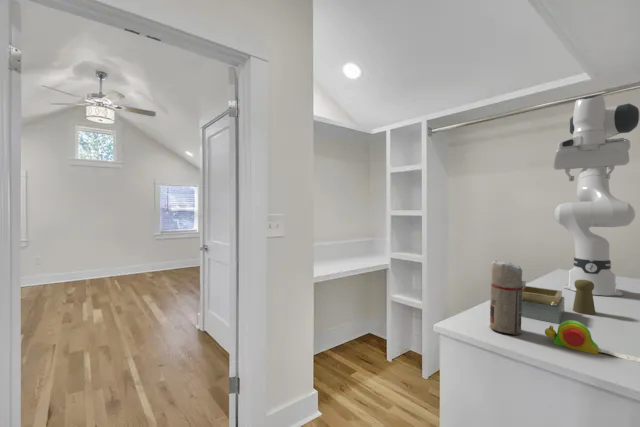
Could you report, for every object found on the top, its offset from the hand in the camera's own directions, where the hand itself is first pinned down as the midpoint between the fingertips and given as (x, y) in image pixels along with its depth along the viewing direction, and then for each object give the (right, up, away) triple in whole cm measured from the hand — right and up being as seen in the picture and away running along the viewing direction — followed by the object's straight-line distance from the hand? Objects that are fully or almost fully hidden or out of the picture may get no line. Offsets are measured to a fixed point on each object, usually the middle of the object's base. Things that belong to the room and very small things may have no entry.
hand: (588, 180), depth 108 cm
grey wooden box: (-21, -46, -5) cm, 51 cm away
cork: (-5, -46, -3) cm, 46 cm away
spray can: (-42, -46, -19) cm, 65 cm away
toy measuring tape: (-28, -47, -33) cm, 63 cm away
